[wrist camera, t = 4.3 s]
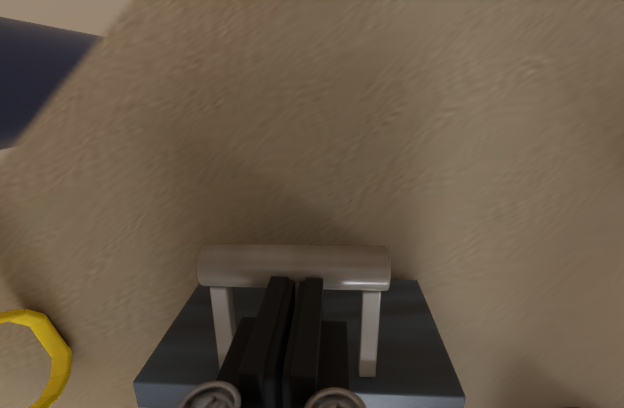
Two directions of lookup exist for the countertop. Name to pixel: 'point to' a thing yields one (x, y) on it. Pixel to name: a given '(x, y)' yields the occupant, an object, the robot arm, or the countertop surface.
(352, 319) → the drawer
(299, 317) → the robot arm
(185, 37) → the countertop surface
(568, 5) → the countertop surface
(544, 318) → the countertop surface
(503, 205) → the countertop surface
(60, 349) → the watch
